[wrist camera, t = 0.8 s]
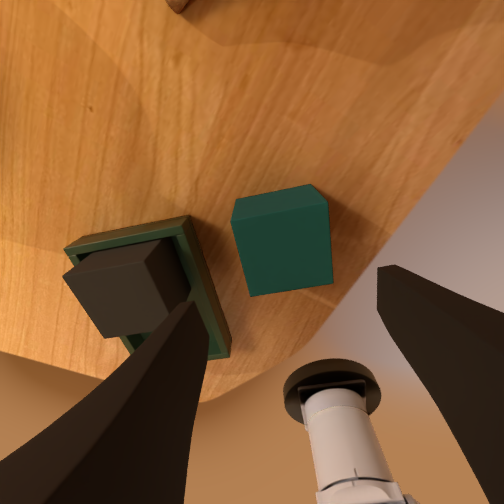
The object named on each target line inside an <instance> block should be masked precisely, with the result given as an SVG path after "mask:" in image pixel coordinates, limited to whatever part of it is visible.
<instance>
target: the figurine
mask: <svg viewBox="0 0 504 504" xmlns="http://www.w3.org/2000/svg"><path fill="white" fill-rule="evenodd" d="M188 1H189V0H166V2H167V4H168V5H169V6H170V8H171V9H172V10H173V11H174V12H175V13H177V14H179V13H180V12H181V10H182V9H183V7H184V6H185V5H186V4H187V2H188Z"/></svg>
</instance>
